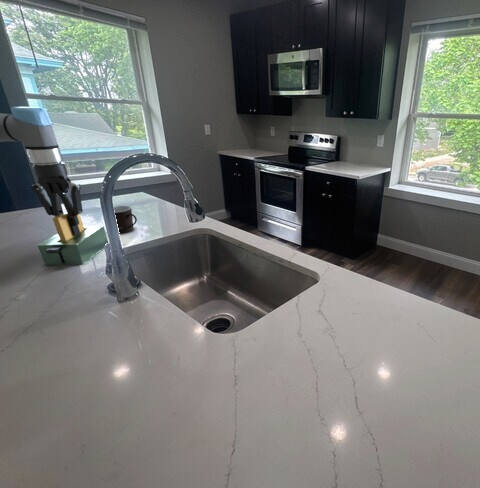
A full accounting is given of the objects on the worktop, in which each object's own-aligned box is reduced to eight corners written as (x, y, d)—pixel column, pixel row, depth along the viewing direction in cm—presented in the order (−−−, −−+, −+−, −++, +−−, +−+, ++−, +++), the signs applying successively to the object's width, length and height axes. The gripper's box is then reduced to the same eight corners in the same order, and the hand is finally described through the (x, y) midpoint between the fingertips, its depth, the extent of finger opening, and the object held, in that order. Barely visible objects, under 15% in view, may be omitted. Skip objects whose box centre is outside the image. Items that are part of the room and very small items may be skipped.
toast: (64, 250, 97) (52, 218, 92) (82, 237, 106) (72, 208, 101) (69, 249, 97) (57, 218, 92) (87, 237, 106) (77, 208, 101)
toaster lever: (47, 253, 91) (45, 250, 90) (52, 250, 93) (51, 246, 92) (57, 253, 91) (56, 249, 91) (63, 249, 93) (61, 246, 93)
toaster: (46, 267, 95) (37, 245, 92) (77, 246, 110) (70, 226, 106) (83, 266, 97) (76, 244, 93) (109, 245, 111) (103, 225, 108)
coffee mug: (109, 231, 123) (102, 208, 118) (132, 226, 128) (127, 204, 124) (118, 240, 116) (111, 216, 111) (142, 234, 121) (136, 211, 117)
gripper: (81, 161, 94) (102, 229, 104) (30, 160, 92) (56, 230, 102) (66, 165, 88) (90, 238, 98) (10, 164, 86) (40, 239, 96)
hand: (73, 234), depth 100 cm, fingers closed on toast, 2 cm apart
